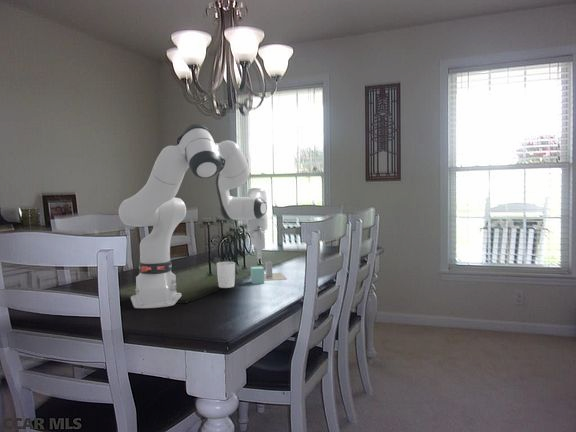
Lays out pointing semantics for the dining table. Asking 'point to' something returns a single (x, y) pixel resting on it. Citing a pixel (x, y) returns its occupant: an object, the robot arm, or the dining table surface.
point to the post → (270, 275)
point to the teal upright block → (257, 275)
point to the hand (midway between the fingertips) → (258, 256)
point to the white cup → (226, 274)
